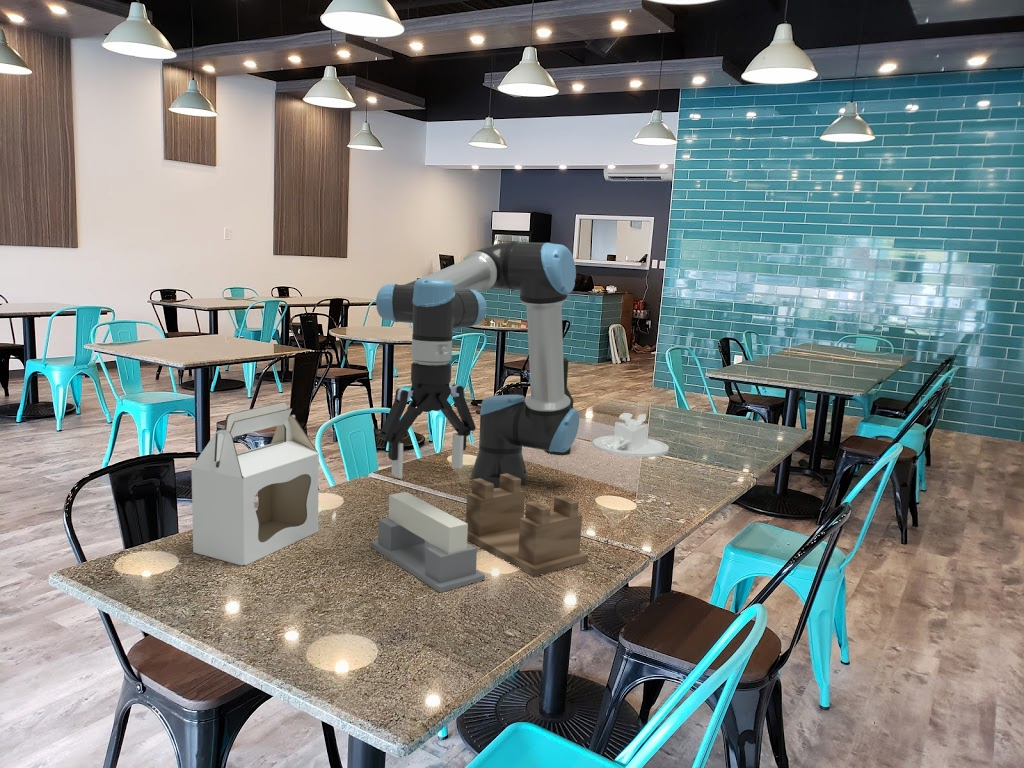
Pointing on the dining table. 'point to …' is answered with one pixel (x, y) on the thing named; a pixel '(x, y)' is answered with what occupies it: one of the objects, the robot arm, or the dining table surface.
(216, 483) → the gable box
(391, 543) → the stand
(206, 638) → the dining table surface
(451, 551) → the white rectangular bar
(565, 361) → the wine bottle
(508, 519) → the notched wooden cradle
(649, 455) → the dish
